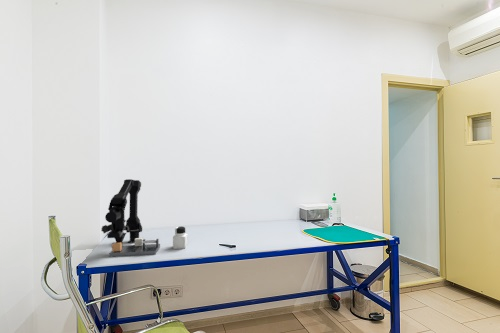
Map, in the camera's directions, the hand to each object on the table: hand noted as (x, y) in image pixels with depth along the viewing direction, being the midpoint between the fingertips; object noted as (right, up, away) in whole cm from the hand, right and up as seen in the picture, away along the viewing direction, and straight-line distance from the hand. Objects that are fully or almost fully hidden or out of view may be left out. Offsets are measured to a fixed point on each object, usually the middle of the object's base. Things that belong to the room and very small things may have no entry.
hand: (119, 246), depth 153 cm
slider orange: (+1, -1, -3) cm, 3 cm away
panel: (+9, -3, +2) cm, 10 cm away
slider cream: (+9, -1, +6) cm, 11 cm away
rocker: (+17, +2, +3) cm, 17 cm away
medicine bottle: (+32, -3, +10) cm, 34 cm away
